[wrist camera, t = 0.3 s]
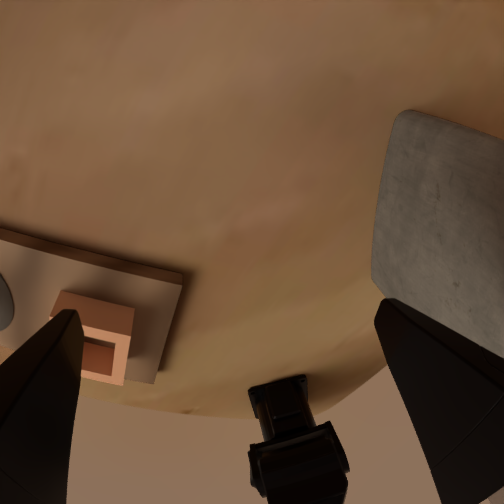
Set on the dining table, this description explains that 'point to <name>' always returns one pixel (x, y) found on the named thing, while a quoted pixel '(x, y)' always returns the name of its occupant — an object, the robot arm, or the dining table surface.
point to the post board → (85, 284)
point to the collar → (101, 335)
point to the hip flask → (443, 226)
